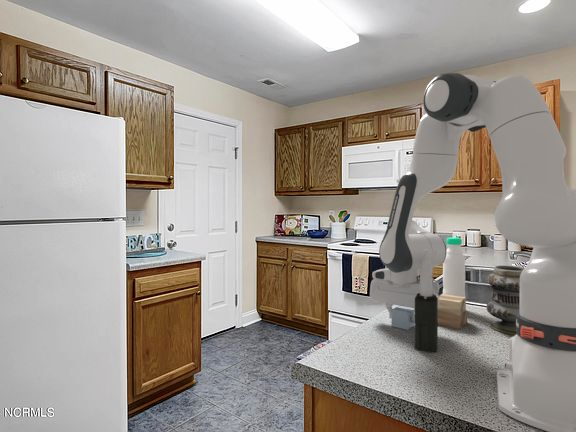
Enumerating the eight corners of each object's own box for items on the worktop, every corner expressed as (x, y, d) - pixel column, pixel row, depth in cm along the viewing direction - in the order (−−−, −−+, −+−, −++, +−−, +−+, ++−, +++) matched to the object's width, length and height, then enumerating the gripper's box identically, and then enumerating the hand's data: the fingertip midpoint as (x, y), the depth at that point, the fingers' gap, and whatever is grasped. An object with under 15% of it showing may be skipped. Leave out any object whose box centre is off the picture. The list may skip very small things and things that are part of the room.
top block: (460, 315, 101) (459, 302, 101) (435, 311, 106) (435, 298, 106) (465, 310, 107) (465, 297, 107) (441, 306, 111) (441, 294, 111)
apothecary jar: (503, 337, 94) (503, 271, 94) (477, 322, 106) (478, 264, 106) (546, 336, 95) (547, 270, 94) (516, 322, 107) (516, 263, 106)
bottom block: (459, 330, 101) (459, 316, 101) (431, 324, 106) (431, 311, 106) (467, 323, 107) (467, 310, 107) (440, 317, 112) (440, 305, 112)
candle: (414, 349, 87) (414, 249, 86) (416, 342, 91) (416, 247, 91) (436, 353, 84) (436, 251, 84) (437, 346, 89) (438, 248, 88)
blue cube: (408, 329, 100) (408, 312, 100) (391, 326, 104) (391, 309, 104) (414, 325, 104) (414, 308, 104) (398, 322, 108) (398, 306, 107)
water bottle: (438, 308, 122) (438, 237, 121) (452, 306, 125) (452, 236, 124) (455, 314, 115) (455, 238, 115) (470, 311, 118) (470, 238, 118)
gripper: (442, 277, 99) (442, 324, 100) (376, 269, 113) (376, 311, 113) (435, 280, 95) (435, 330, 95) (367, 272, 108) (367, 316, 108)
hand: (403, 320), depth 104 cm, fingers closed on blue cube, 5 cm apart
